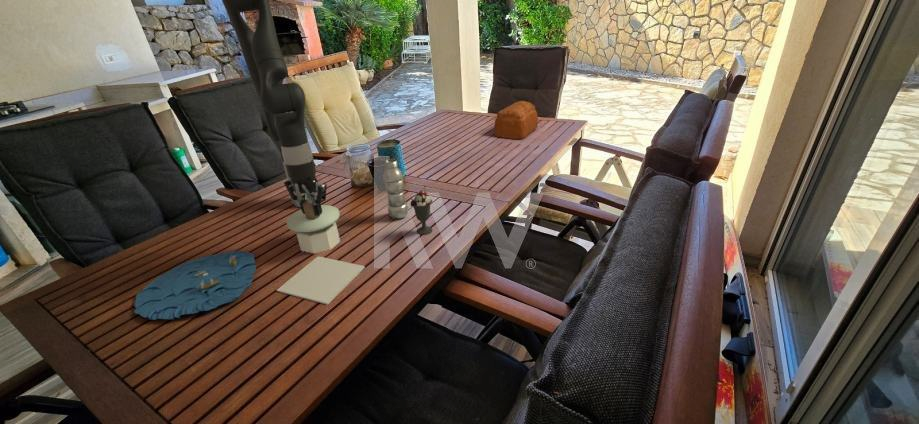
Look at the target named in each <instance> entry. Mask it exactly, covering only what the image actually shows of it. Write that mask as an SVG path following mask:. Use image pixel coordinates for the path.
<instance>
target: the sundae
mask: <svg viewBox="0 0 919 424" xmlns="http://www.w3.org/2000/svg"><path fill="white" fill-rule="evenodd" d="M425 188H427V185H424V186H423V189H422V190H420V191H418V193H416V194H415V196H414V198H410V199H411V201H410V207H413V210H414V214H415V217H416V219H417V220H418V221H420V222H421V226H420V227H418V228H417V230H416V232H417V234H418V235H429V234H431V233H432V232H433V228H432V227H431V226H427V224H426V223H427V222H426V221H428V220H429V219H430V215H431V204H432V203H433V200H432V199H431V198H430V197H429V195H428V193H427V192H426V191H424V192H423V190H425Z"/></svg>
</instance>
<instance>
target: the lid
mask: <svg viewBox="0 0 919 424" xmlns="http://www.w3.org/2000/svg"><path fill="white" fill-rule="evenodd" d="M321 207H322V214H321V215H319V216H315V213H314V209H313V204H312V202H311V200H308V201H306V202H304V203H303V208H304V211H305V214H303V212H302V211H301V209H299V210H297V211H295V212H293V213H292V214H291V215H289V217H288V218H287V219H286V226H287V228H288V229H289V230H290V231H293V232H295V233H296V232H312V231H317V230H320V229H323V228H326V227H328V226H330V225H332V224H334V223H335V222H336V223H337V221H338V220H339V218H340V217H341V216H340V214H341V213H340V210H339V208H337V207H336V206H333V205H326V204H321Z"/></svg>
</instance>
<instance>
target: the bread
mask: <svg viewBox="0 0 919 424" xmlns="http://www.w3.org/2000/svg"><path fill="white" fill-rule="evenodd" d="M538 115H539V114H538V112H537V110H536V106H535V105H534V104H532V103H531V102H529V101H526V100H518V101H515V102H514V103H512V104H511V105H508V106H506V107H505V108H503V109H501V110H500V111H498V112H497V114H496V118H495V119H494V128H493V129H494V131H493V132H494V136H495V137H497V138H503V139H510V140H511V139H512V140H513V139H514V140H523V139H525V138H526V137H528V136H529V135H530V134H531V133H532V132H534V131H536V130H537V128H538V121H539V120H538V119H539V118H538Z"/></svg>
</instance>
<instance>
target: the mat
mask: <svg viewBox="0 0 919 424" xmlns="http://www.w3.org/2000/svg"><path fill="white" fill-rule="evenodd" d="M365 268H366V267H365V265H361V264H356V263H353V262H352V263H351V262H347V261H343V260H342V261H341V260H338V259H332V258H328V257H322V256H319V255H317V257H315V258H314V259H313V260H312V261H310V262H308V264H307V265H306V266H304V267H303V268H302V269H301V270H299V271H298V272H297V273H296V274H294V275H293V276H292V277H290V279H288V280H287V281H286V282H285V283H283V284H282V285H281V286H279V288H277V289H276V292H278V291H279V293H283V294H286V295H290V296H293V297H297V298H300V299H305V300H308V301H312V302H315V303H320V304H323V305H327V306H328V305H330V303H331V302H332V301H333V300H334V299H335V298H336V297H337V296H338V295H339V294H340V293H341V292H342V291H343V290H344V289H345V288H346V287H347V286H349V284H350V283H351V282H352V281H353V280H354V279H355V278H357V276H358V275H359V274H361V272H362V271H363V270H364V269H365Z"/></svg>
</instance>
